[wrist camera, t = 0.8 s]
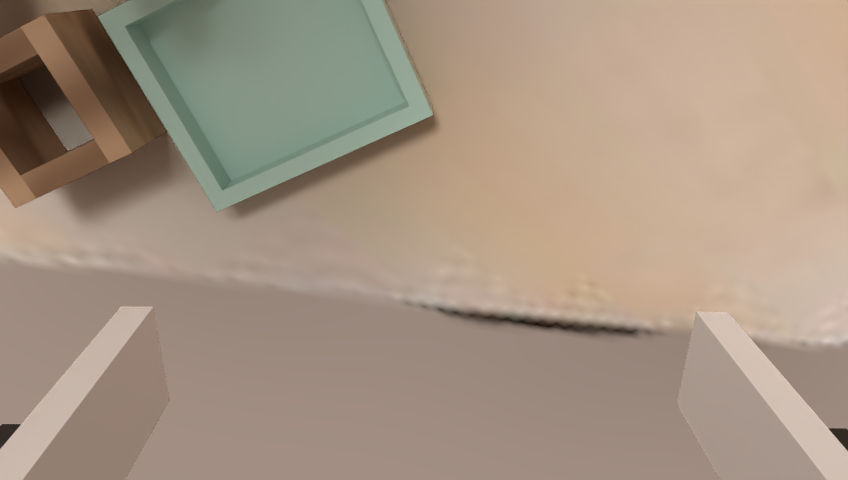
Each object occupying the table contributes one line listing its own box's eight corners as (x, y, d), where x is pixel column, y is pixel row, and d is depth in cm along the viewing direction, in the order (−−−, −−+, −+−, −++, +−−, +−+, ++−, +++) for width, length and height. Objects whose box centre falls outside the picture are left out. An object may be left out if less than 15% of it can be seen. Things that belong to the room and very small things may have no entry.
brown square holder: (-18, 66, 37) (-80, 79, 33) (92, 9, 36) (43, 14, 32) (62, 180, 40) (15, 208, 35) (166, 131, 39) (131, 152, 34)
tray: (118, 13, 36) (97, 16, 34) (340, -102, 34) (334, -107, 32) (228, 198, 41) (216, 211, 38) (432, 106, 38) (432, 115, 36)
